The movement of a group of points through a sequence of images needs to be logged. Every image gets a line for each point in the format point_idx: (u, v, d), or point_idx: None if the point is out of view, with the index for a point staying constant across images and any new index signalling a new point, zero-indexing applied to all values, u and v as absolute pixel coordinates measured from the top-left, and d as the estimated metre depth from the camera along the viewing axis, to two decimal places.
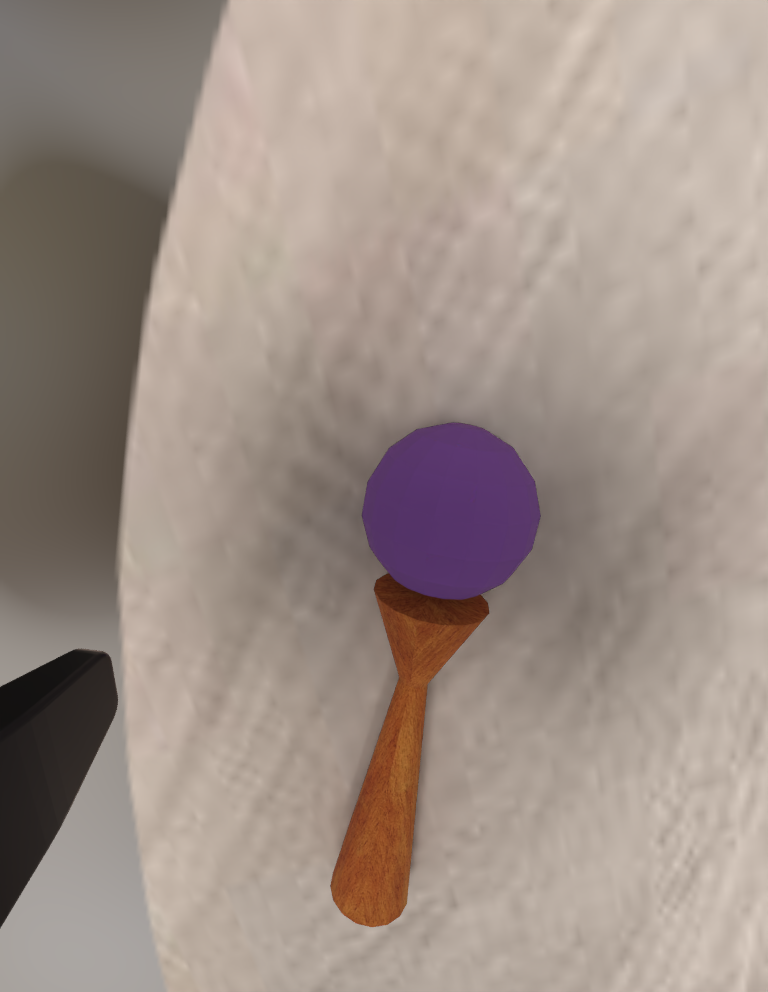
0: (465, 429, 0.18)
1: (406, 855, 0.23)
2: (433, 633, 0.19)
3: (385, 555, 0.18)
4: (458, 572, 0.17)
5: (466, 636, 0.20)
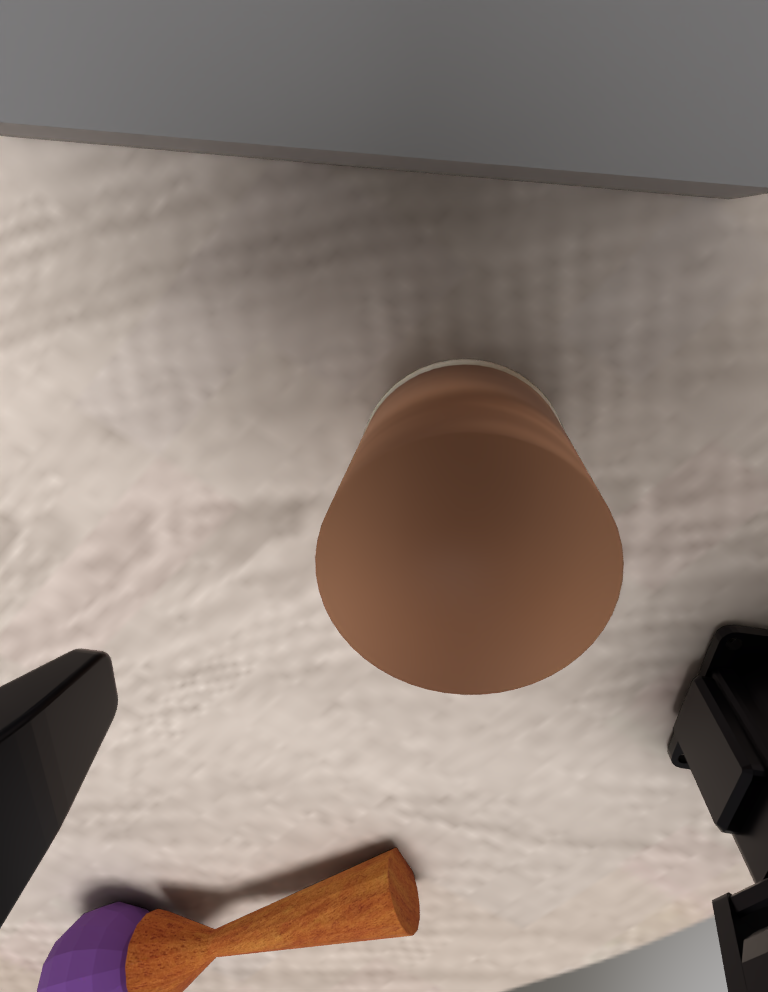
0: None
1: (334, 906, 0.25)
2: None
3: None
4: None
5: (142, 964, 0.27)
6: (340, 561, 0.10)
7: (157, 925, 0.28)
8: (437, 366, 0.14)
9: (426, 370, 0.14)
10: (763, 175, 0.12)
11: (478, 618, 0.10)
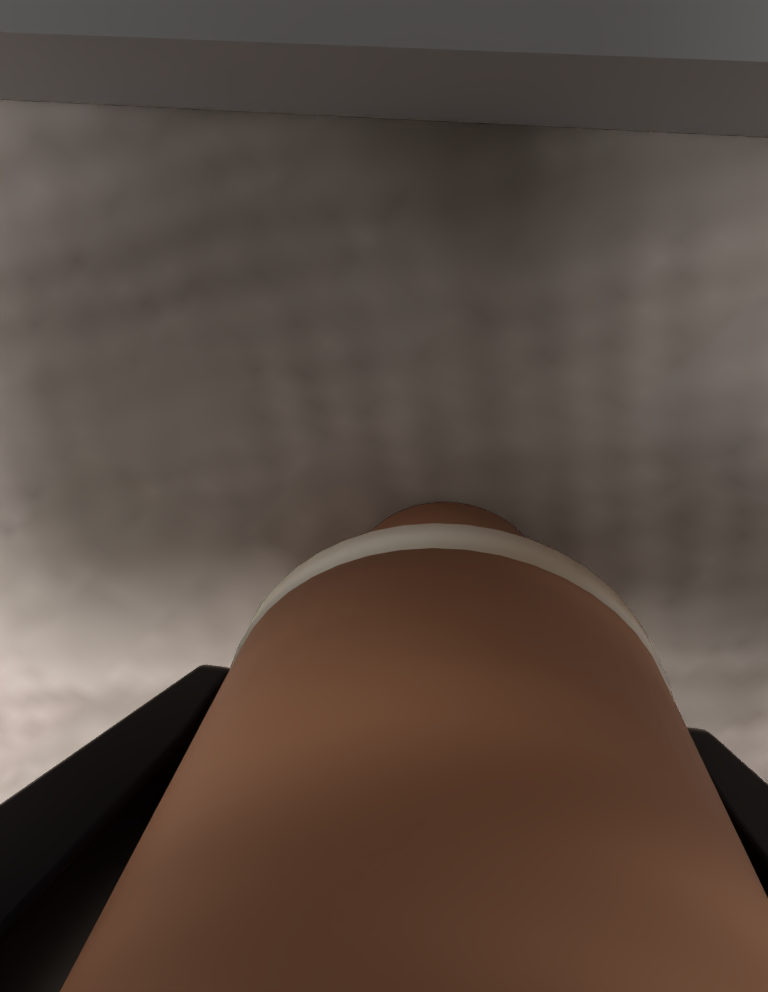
0: None
1: None
2: None
3: None
4: None
5: None
6: None
7: None
8: (375, 549, 0.06)
9: (350, 558, 0.06)
10: None
11: None
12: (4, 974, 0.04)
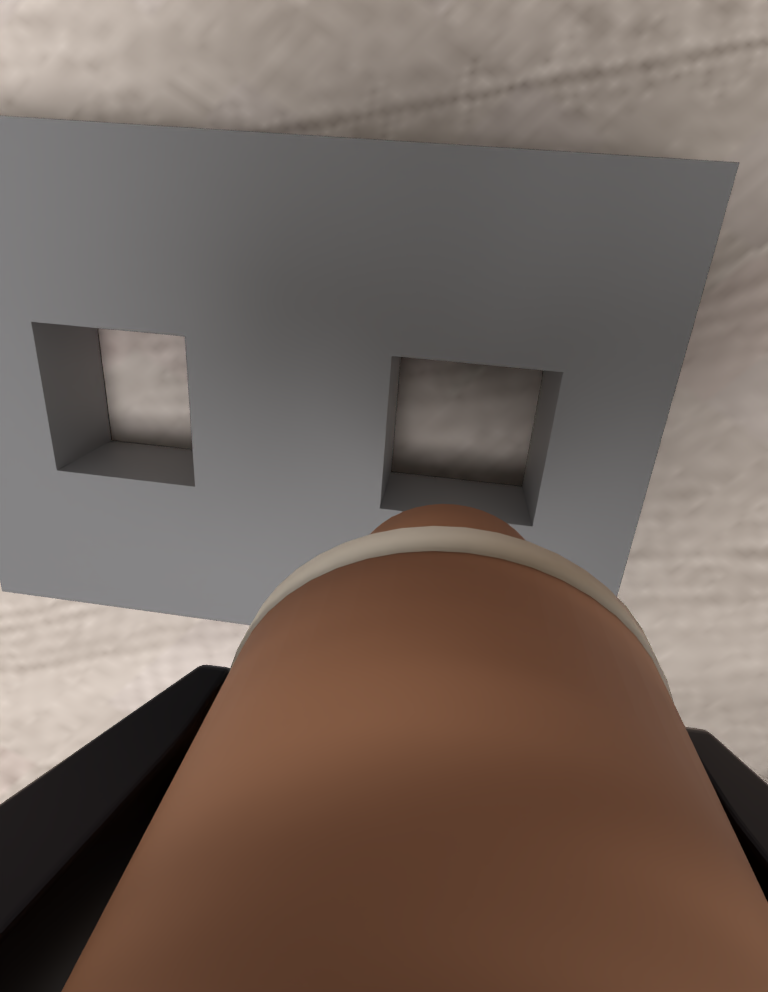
0: None
1: None
2: None
3: None
4: None
5: None
6: None
7: None
8: (375, 552, 0.06)
9: (350, 561, 0.06)
10: None
11: None
12: (3, 975, 0.04)
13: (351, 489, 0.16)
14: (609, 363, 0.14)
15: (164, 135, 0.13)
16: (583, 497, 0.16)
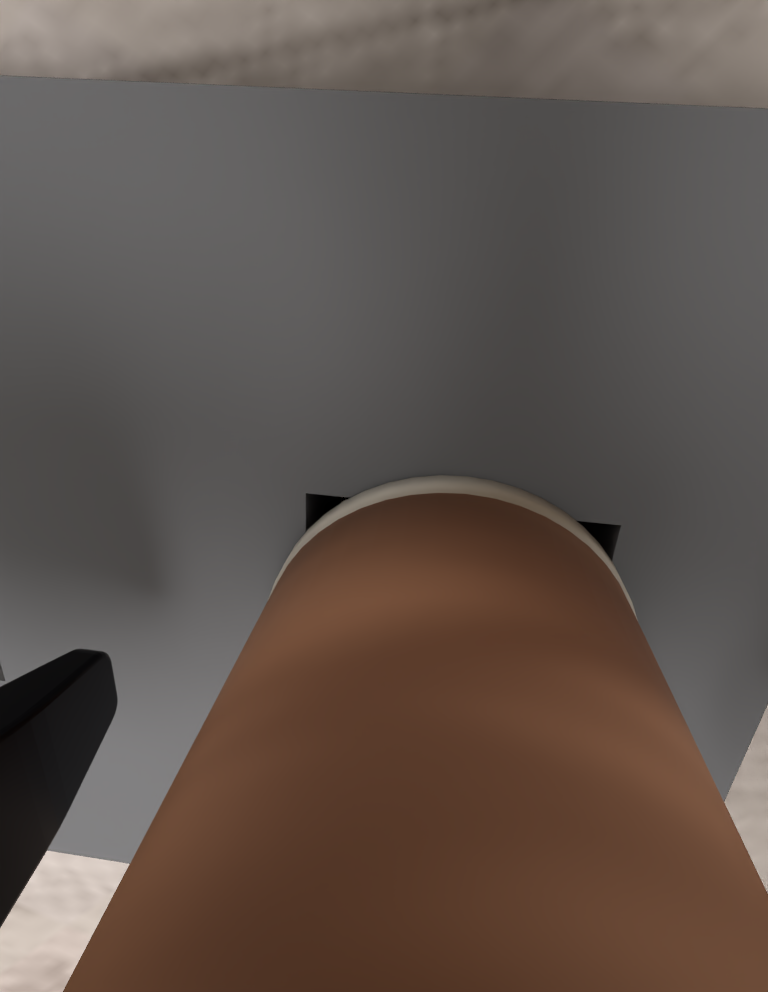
0: None
1: None
2: None
3: None
4: None
5: None
6: None
7: None
8: (391, 495, 0.07)
9: (371, 502, 0.07)
10: None
11: None
12: None
13: None
14: (709, 512, 0.08)
15: None
16: None
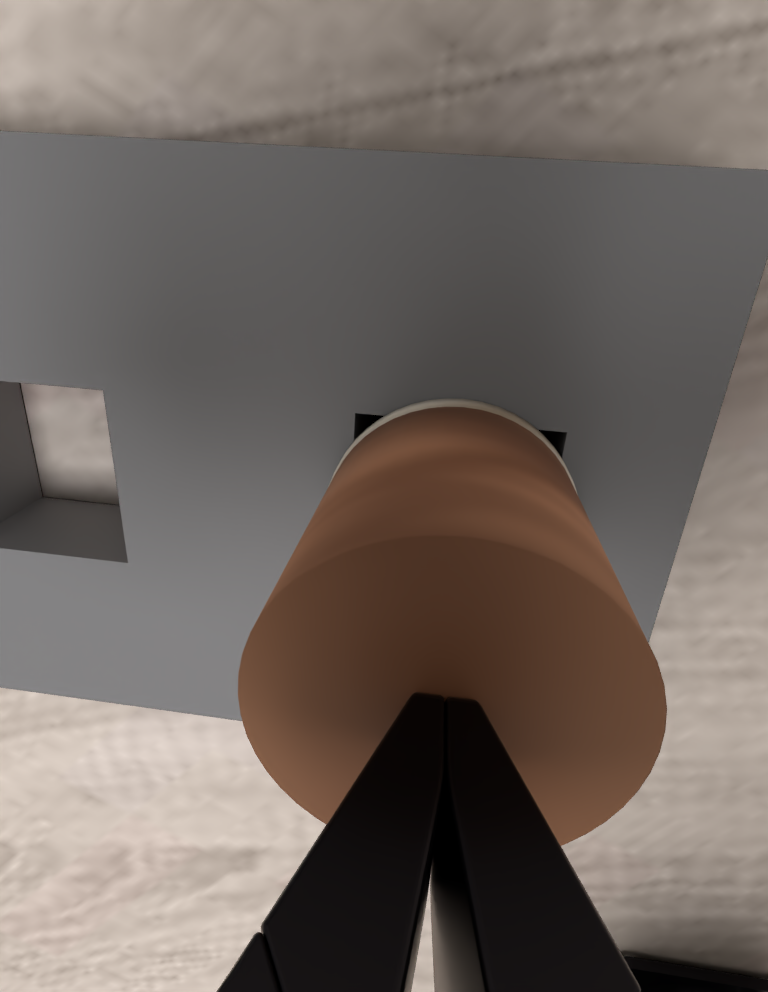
0: None
1: None
2: None
3: None
4: None
5: None
6: (272, 698, 0.07)
7: None
8: (414, 409, 0.11)
9: (400, 414, 0.11)
10: None
11: None
12: None
13: None
14: (624, 421, 0.11)
15: (59, 145, 0.11)
16: None
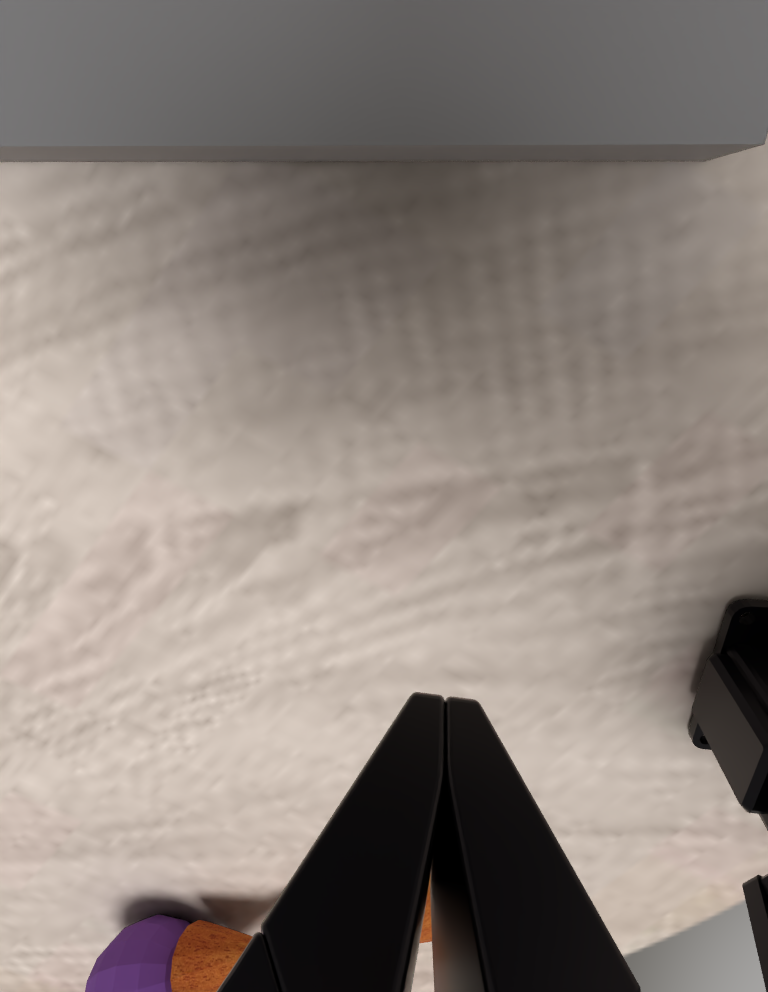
0: None
1: None
2: None
3: None
4: None
5: (188, 977, 0.27)
6: None
7: (200, 936, 0.28)
8: None
9: None
10: (733, 131, 0.12)
11: None
12: None
13: None
14: None
15: None
16: None
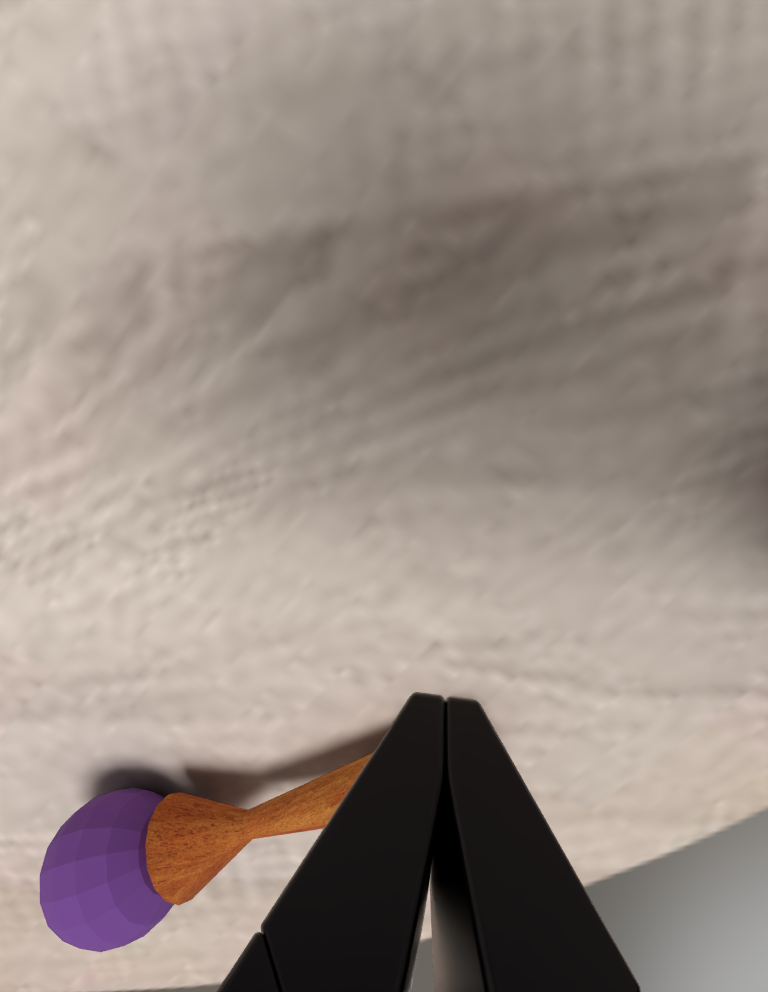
0: None
1: None
2: (169, 883, 0.23)
3: (148, 928, 0.24)
4: (100, 917, 0.22)
5: (166, 843, 0.23)
6: None
7: (182, 805, 0.24)
8: None
9: None
10: None
11: None
12: None
13: None
14: None
15: None
16: None
